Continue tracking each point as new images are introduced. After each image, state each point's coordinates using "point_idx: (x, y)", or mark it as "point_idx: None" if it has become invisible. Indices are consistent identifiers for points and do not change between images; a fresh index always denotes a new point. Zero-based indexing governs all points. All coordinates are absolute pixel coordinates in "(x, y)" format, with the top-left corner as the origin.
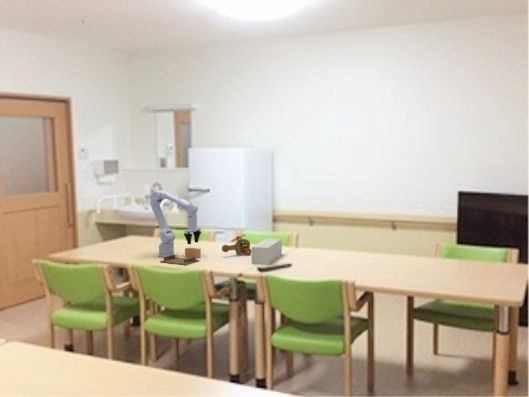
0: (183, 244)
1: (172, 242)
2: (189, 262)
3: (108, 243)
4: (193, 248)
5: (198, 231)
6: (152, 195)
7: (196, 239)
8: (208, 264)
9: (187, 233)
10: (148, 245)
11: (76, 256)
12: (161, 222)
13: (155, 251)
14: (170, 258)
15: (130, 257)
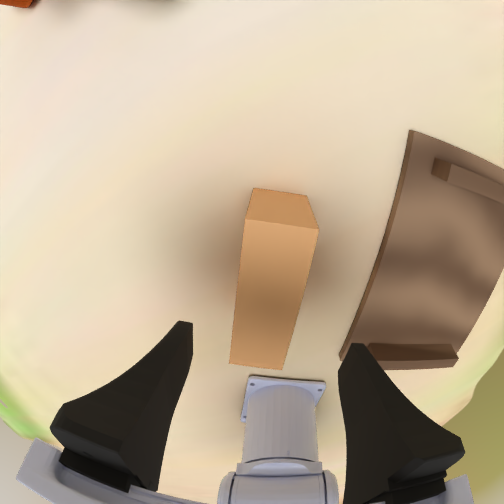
0: (46, 396)
1: (286, 462)
2: (497, 178)
3: None
4: (260, 303)
5: (95, 461)
6: None
7: (180, 366)
8: (473, 29)
9: (458, 480)
10: None
11: (340, 499)
12: None
13: (201, 449)
14: (414, 348)
15: (340, 460)
